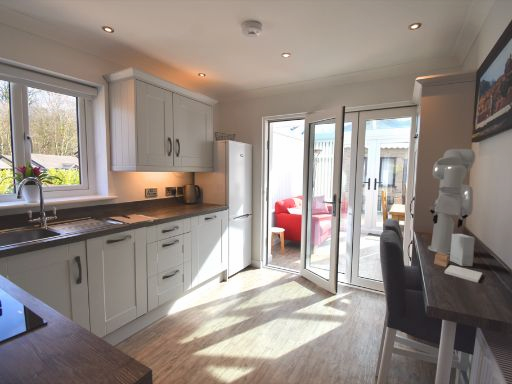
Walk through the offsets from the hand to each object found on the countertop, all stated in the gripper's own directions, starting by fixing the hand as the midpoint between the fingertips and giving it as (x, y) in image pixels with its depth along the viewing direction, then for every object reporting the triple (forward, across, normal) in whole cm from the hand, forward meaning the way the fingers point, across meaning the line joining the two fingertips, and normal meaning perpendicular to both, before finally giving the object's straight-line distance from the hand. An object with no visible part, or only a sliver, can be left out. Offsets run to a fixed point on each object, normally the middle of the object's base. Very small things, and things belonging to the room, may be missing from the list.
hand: (446, 225), depth 131 cm
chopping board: (+20, +10, -7) cm, 24 cm away
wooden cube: (+20, 0, 0) cm, 20 cm away
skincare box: (+20, +6, +10) cm, 24 cm away
